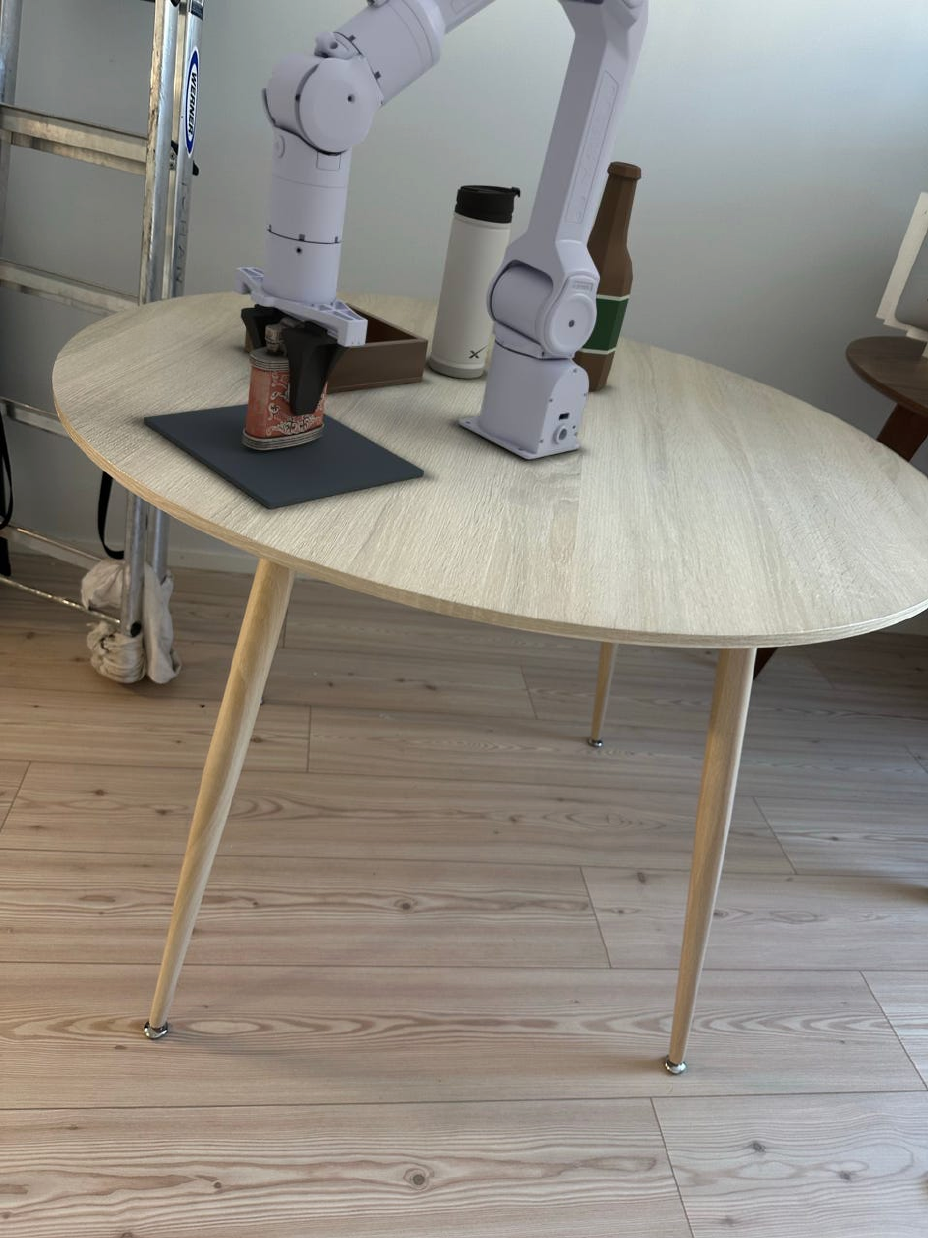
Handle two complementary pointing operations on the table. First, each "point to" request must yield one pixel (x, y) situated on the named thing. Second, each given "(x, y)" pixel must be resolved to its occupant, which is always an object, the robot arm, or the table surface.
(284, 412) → the lighter
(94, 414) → the table surface
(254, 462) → the mat
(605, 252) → the beer bottle
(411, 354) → the brown wooden tray
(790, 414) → the table surface
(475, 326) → the travel mug
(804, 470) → the table surface
